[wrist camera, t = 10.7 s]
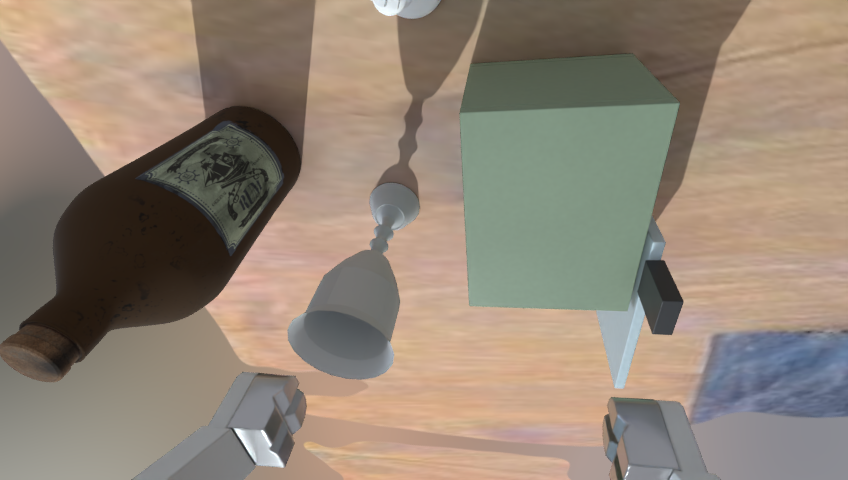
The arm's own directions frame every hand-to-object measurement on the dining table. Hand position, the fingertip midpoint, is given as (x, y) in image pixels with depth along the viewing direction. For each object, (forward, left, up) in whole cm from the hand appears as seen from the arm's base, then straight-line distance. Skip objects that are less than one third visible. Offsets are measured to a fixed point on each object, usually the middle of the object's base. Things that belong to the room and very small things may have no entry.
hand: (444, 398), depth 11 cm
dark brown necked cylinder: (+6, -22, -29) cm, 37 cm away
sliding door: (+16, +12, -29) cm, 35 cm away
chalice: (+12, -9, -29) cm, 33 cm away
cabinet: (+7, +5, -29) cm, 30 cm away
